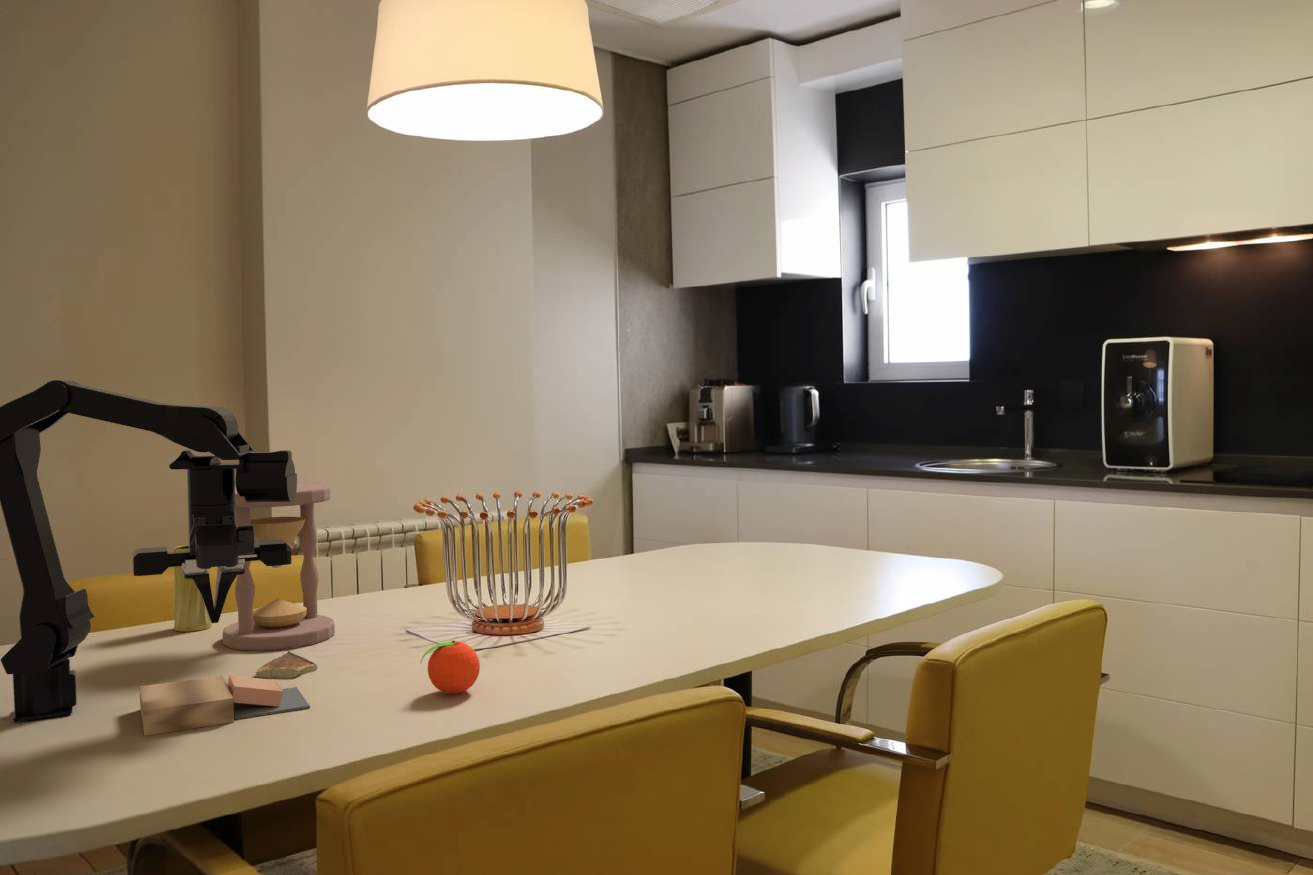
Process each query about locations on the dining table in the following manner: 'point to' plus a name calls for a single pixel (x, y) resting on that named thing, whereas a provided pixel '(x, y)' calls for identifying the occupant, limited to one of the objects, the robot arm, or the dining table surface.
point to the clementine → (453, 667)
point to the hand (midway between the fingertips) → (214, 622)
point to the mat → (288, 703)
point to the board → (185, 705)
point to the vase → (188, 602)
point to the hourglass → (278, 618)
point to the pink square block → (255, 691)
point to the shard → (286, 666)
